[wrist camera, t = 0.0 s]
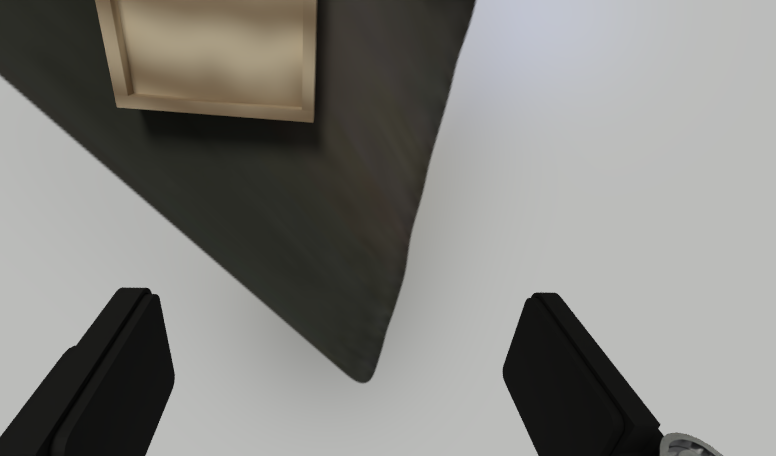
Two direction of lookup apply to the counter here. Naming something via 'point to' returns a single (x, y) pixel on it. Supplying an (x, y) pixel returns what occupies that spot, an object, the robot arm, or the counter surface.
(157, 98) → the beech platter
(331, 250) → the counter surface
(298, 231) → the counter surface
